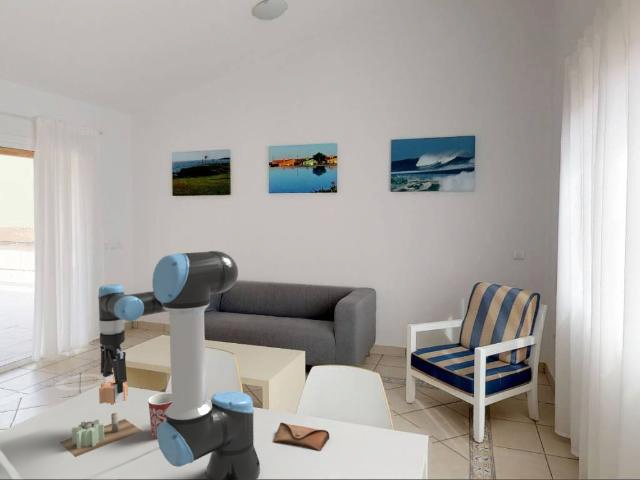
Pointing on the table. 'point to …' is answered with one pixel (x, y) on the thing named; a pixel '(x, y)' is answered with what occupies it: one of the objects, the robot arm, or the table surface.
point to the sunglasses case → (301, 436)
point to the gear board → (105, 435)
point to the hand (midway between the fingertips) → (113, 398)
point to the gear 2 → (110, 392)
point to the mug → (158, 410)
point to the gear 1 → (87, 434)
